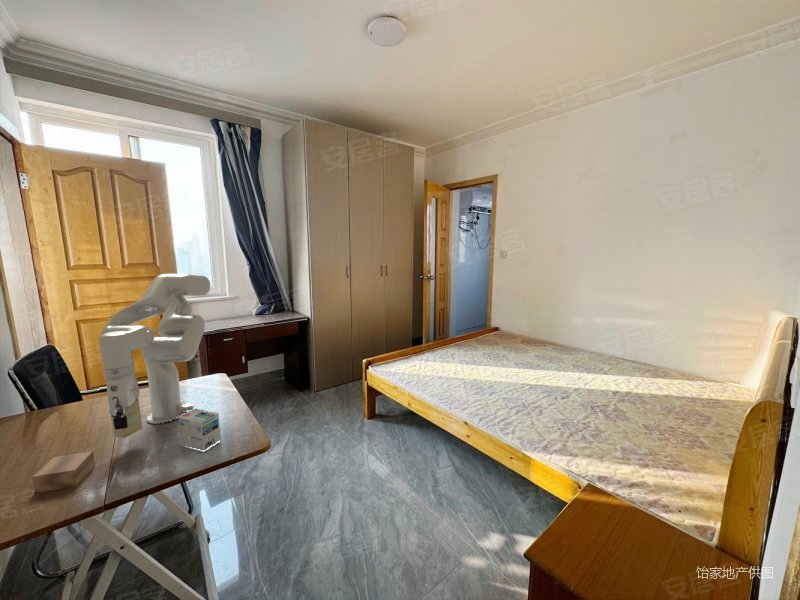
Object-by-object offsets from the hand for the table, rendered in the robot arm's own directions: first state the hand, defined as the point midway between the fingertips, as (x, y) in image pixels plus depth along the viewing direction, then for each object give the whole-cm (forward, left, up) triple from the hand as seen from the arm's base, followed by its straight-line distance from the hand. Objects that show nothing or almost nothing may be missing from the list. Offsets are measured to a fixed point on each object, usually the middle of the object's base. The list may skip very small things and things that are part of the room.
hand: (127, 421), depth 108 cm
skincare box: (0, 0, -4) cm, 4 cm away
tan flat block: (+10, +13, -9) cm, 19 cm away
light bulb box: (-22, +6, -9) cm, 24 cm away
